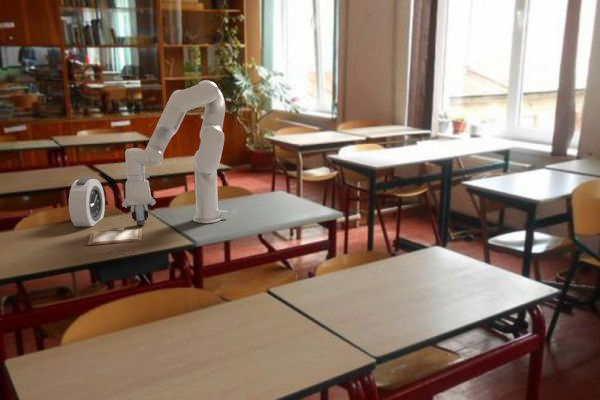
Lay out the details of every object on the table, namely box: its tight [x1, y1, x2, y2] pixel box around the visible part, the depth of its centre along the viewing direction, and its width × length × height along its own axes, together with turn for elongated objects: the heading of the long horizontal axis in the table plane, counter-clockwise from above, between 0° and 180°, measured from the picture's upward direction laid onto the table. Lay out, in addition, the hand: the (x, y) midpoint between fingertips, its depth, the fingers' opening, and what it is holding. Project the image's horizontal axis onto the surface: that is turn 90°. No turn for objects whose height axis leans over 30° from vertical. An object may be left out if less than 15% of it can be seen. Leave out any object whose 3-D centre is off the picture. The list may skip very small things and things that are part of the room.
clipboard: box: [87, 226, 143, 246], centre depth 229 cm, size 20×16×2 cm
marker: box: [134, 204, 146, 226], centre depth 242 cm, size 4×4×10 cm
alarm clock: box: [68, 176, 106, 228], centre depth 247 cm, size 21×8×20 cm, turn 179°
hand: (140, 219), depth 243 cm, fingers closed on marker, 3 cm apart
